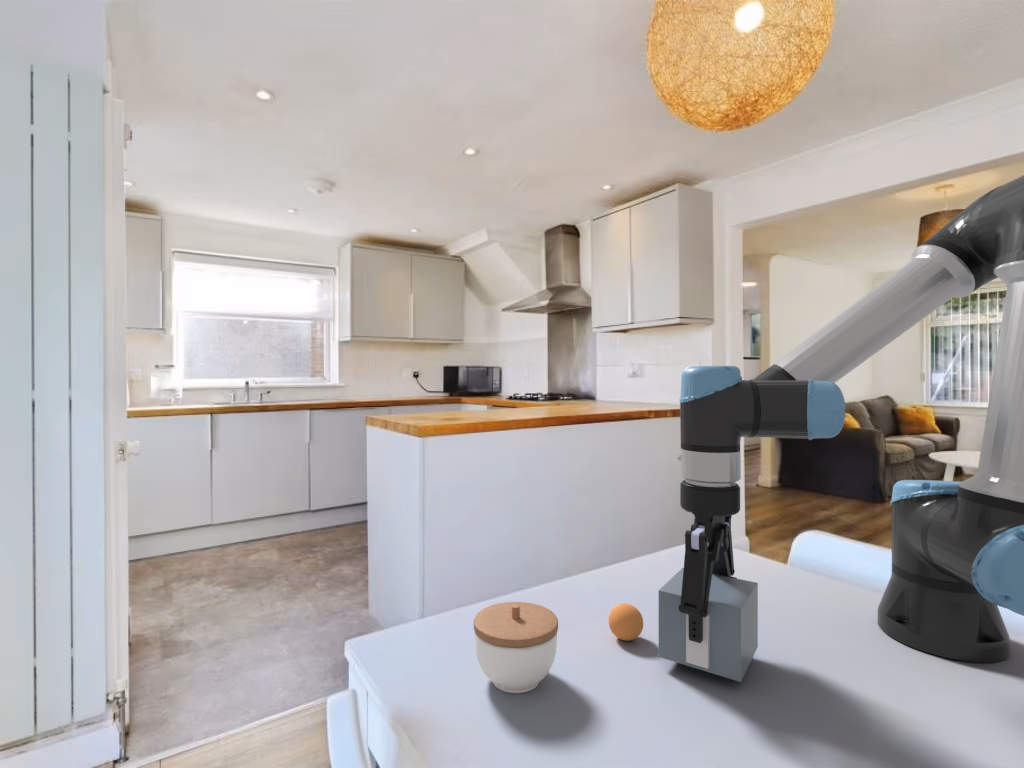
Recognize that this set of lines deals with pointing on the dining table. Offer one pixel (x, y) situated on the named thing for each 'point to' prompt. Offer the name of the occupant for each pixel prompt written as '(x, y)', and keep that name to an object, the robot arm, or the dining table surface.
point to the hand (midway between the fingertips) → (709, 646)
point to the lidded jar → (515, 644)
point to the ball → (625, 622)
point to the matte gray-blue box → (713, 624)
